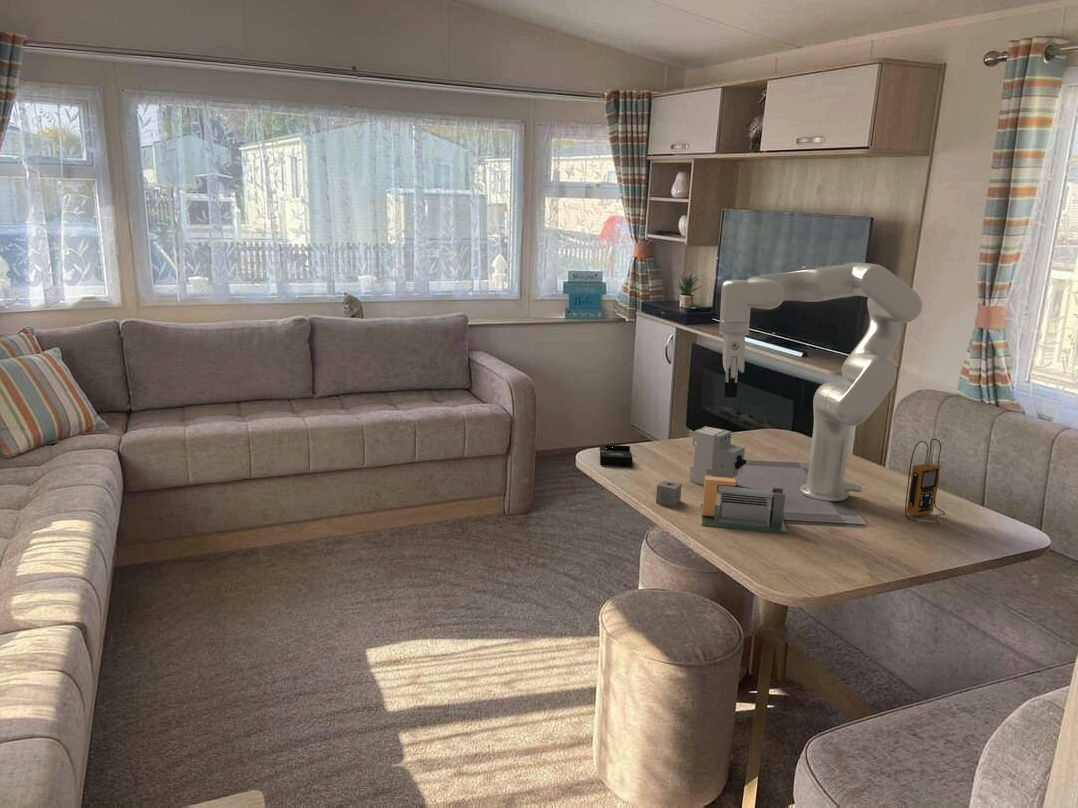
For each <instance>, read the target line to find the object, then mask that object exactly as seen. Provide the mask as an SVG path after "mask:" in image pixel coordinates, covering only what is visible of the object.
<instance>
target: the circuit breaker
mask: <svg viewBox="0 0 1078 808" xmlns="http://www.w3.org/2000/svg"><path fill="white" fill-rule="evenodd" d="M731 440H732V431H730V430H727V429H722V428H721V429H720V428H716V427H710V426H703V427H702V428H699V429H696V430H694V431H693V436H692V441H691V443H692V444H691V445H692V447H693V446H694V456H693V464H692V465H691V466H689V467H690V468H689V469H690V471H689V480H688V482H693V483H695V484H699V485H703V486H704V483H705V476H713V477H724V478H735V477H737V476H738V475H740V474H742V473H743V470H744V465H747V459H745V451H746V450H745V449H746V447H744V446H740V445H735V444H731V442H732V441H731ZM718 487H719V485H718V484H717V488H718Z"/></svg>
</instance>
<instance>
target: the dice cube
mask: <svg viewBox="0 0 1078 808" xmlns="http://www.w3.org/2000/svg"><path fill="white" fill-rule="evenodd" d="M682 486H683V485H682V483H679V482H674V481H670V480H662V481H661V482H660V483H658V484H657V485H656V496H655V497H656V499H655V503H656V504H659V505H663V506H668V507H673V508H674V507H676V506H677V505H678V504H679V503H681V498H682Z"/></svg>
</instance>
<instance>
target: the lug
mask: <svg viewBox="0 0 1078 808" xmlns="http://www.w3.org/2000/svg"><path fill="white" fill-rule="evenodd" d="M717 484H718V485H720V486H729V487H736V485H737V481H736V478H735V477H733V478H724V477H713V476H705V483H704V485H703V496H702V498H703V499H702V504H703V506H702V511H701V516H702V515H705V516H715V505H717V491H718V487H717Z"/></svg>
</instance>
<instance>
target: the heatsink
mask: <svg viewBox="0 0 1078 808" xmlns="http://www.w3.org/2000/svg"><path fill="white" fill-rule="evenodd" d="M771 491H772V492H777V491H779V492H780V493H775V494H774V497H771V501H770V505H769V503H768V501H767V500H768V499H767V497H764V496H755V495H746V494H737V493H728V492H720V502H719V503H720V504H716V505H715V516H705V515H702V514H701V526H705V527H715V528H725V529H734V530H735V529H736V530H745V531H756V532H766V533H775V534H788V530H787V528H786V527H787V526H786V525H785V521H784V518H783V517H784V510H785V500H786V494H785V493H784V488H783V487H777V486H776V487H774V486H772V490H771ZM700 506H701V507H700V508H701V512H702V506H703V503H701V505H700Z"/></svg>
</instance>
